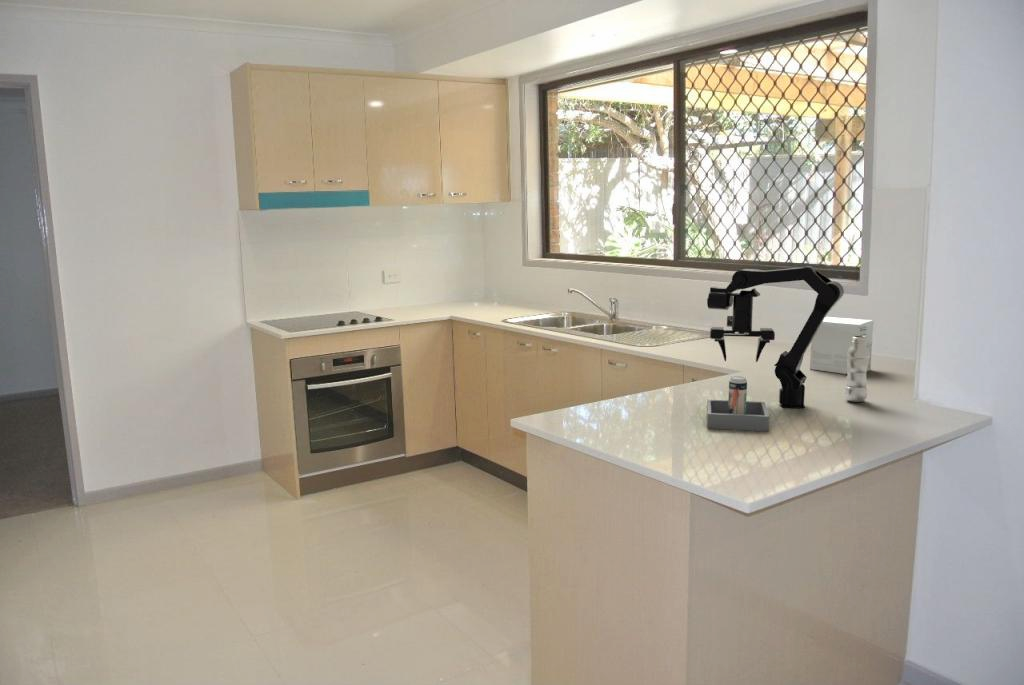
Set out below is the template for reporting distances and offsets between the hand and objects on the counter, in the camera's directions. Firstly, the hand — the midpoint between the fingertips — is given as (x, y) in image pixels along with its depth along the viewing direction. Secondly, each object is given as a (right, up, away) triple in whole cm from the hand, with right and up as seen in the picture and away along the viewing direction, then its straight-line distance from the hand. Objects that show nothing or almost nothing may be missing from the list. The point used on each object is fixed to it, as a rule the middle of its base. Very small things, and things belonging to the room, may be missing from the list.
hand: (740, 361), depth 248 cm
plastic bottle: (+34, -12, -2) cm, 36 cm away
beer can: (-8, -16, -22) cm, 28 cm away
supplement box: (+47, -4, +42) cm, 63 cm away
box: (-8, -16, -22) cm, 29 cm away
